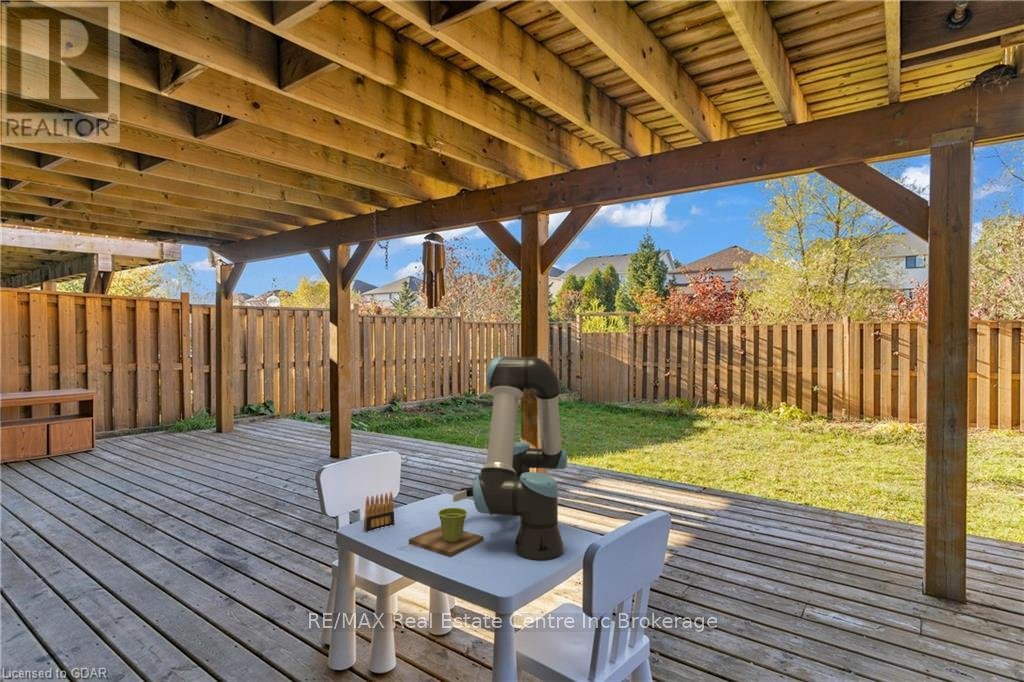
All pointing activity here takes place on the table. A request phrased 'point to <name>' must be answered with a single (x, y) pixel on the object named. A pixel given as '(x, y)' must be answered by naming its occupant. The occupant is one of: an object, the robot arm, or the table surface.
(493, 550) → the table surface
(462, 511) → the plant pot
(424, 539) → the walnut board
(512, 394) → the robot arm
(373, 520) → the ammunition clip
